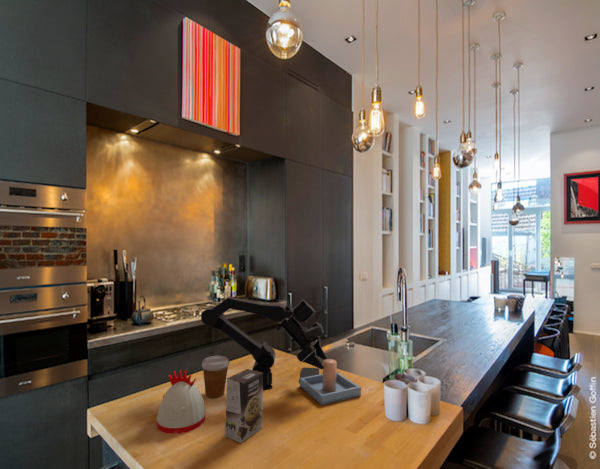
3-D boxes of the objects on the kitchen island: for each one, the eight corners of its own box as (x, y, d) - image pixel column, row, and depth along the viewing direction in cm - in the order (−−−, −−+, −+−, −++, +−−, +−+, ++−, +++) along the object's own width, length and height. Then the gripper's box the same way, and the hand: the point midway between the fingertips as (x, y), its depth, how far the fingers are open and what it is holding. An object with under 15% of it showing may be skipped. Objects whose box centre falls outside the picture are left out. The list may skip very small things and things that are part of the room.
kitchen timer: (168, 408, 109) (169, 361, 109) (211, 409, 108) (212, 362, 108) (147, 433, 95) (149, 379, 95) (196, 435, 94) (197, 380, 94)
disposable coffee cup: (195, 397, 116) (195, 362, 116) (212, 386, 125) (212, 353, 125) (218, 402, 113) (218, 366, 113) (234, 391, 122) (234, 357, 122)
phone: (298, 382, 129) (301, 367, 144) (298, 384, 129) (301, 369, 144) (318, 383, 128) (319, 368, 143) (318, 385, 128) (319, 370, 143)
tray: (321, 405, 112) (322, 396, 112) (299, 386, 126) (300, 378, 126) (360, 395, 119) (360, 387, 120) (335, 378, 134) (335, 371, 134)
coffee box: (242, 444, 90) (243, 383, 91) (224, 436, 94) (225, 377, 94) (263, 428, 98) (264, 372, 98) (246, 421, 101) (247, 367, 102)
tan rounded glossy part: (329, 393, 119) (330, 365, 120) (319, 388, 123) (320, 361, 123) (339, 389, 123) (339, 361, 123) (328, 385, 126) (329, 358, 127)
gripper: (307, 323, 115) (338, 358, 113) (315, 311, 134) (342, 342, 132) (284, 344, 117) (314, 379, 115) (295, 330, 135) (321, 360, 133)
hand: (324, 363), depth 123 cm, fingers open, 9 cm apart
